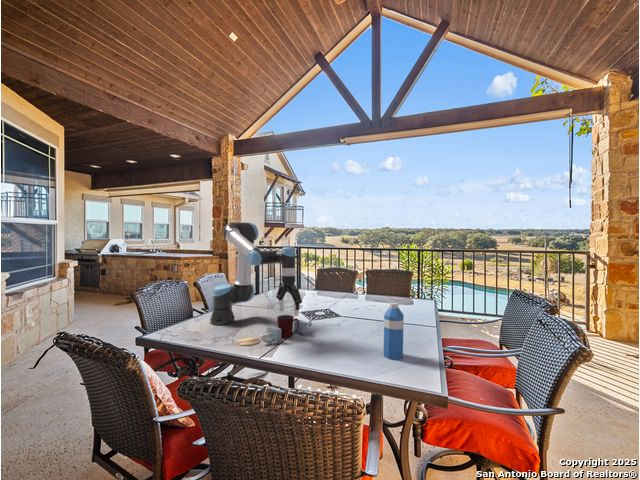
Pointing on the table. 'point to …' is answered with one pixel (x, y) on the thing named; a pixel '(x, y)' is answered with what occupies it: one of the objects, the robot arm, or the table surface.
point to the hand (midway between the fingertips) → (288, 313)
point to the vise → (275, 332)
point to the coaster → (248, 341)
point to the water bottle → (393, 332)
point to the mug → (286, 326)
